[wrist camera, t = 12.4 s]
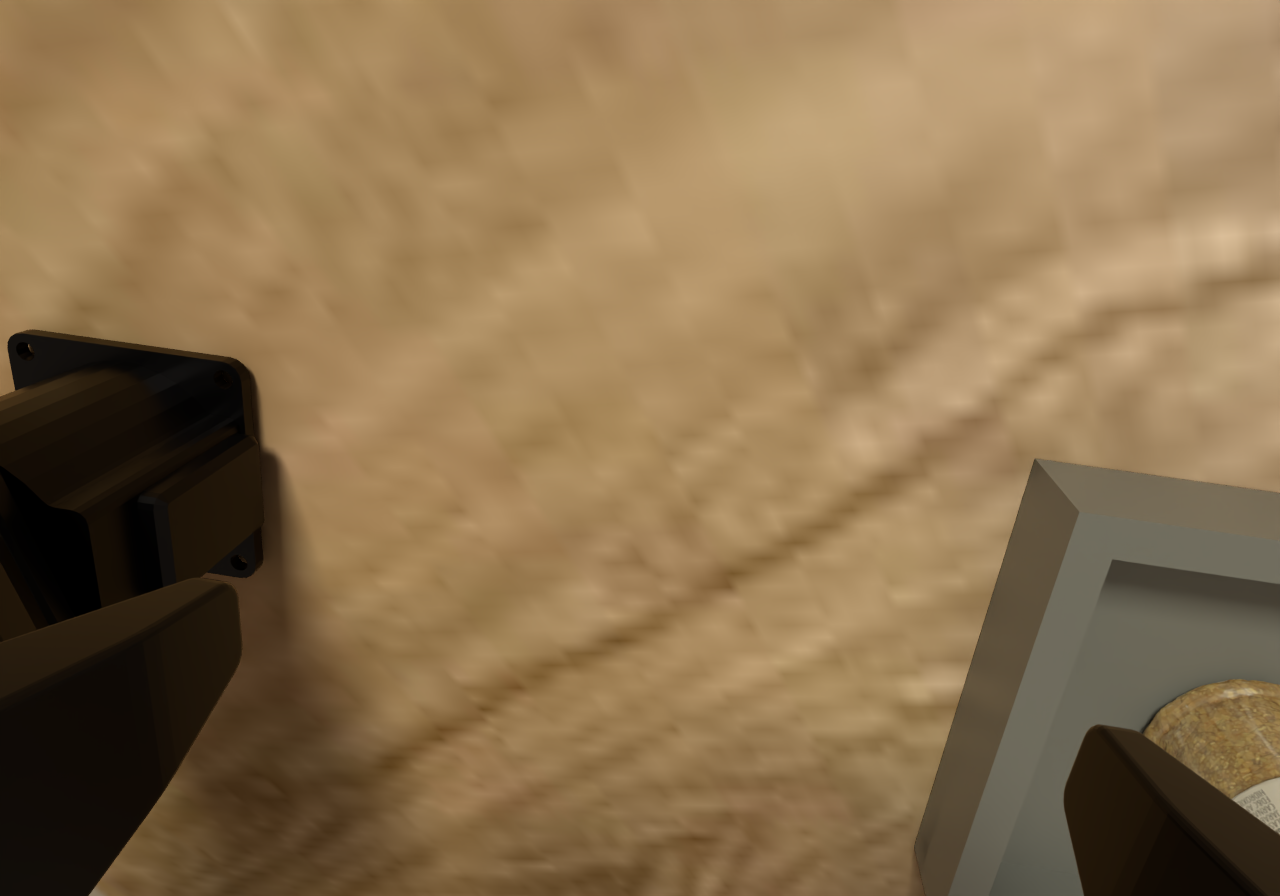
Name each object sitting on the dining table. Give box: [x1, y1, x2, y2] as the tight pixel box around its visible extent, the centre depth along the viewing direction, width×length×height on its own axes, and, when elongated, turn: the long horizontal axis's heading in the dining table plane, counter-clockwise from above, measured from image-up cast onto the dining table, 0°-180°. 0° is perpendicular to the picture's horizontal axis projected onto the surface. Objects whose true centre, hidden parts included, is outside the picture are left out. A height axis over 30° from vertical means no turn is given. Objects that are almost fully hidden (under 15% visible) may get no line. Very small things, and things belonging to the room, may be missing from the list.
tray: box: [914, 459, 1280, 896], centre depth 21 cm, size 13×13×3 cm
